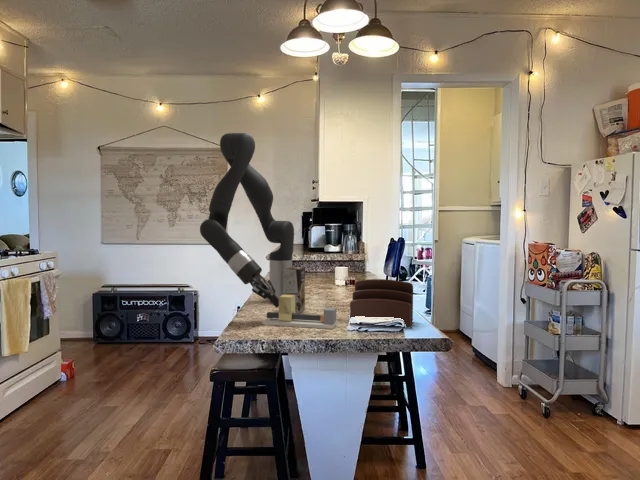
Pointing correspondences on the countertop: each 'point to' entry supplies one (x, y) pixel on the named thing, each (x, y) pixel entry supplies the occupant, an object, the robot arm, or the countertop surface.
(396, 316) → the letter holder
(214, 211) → the robot arm
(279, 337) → the countertop surface
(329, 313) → the white base plate
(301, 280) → the coffee box
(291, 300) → the sleeve
